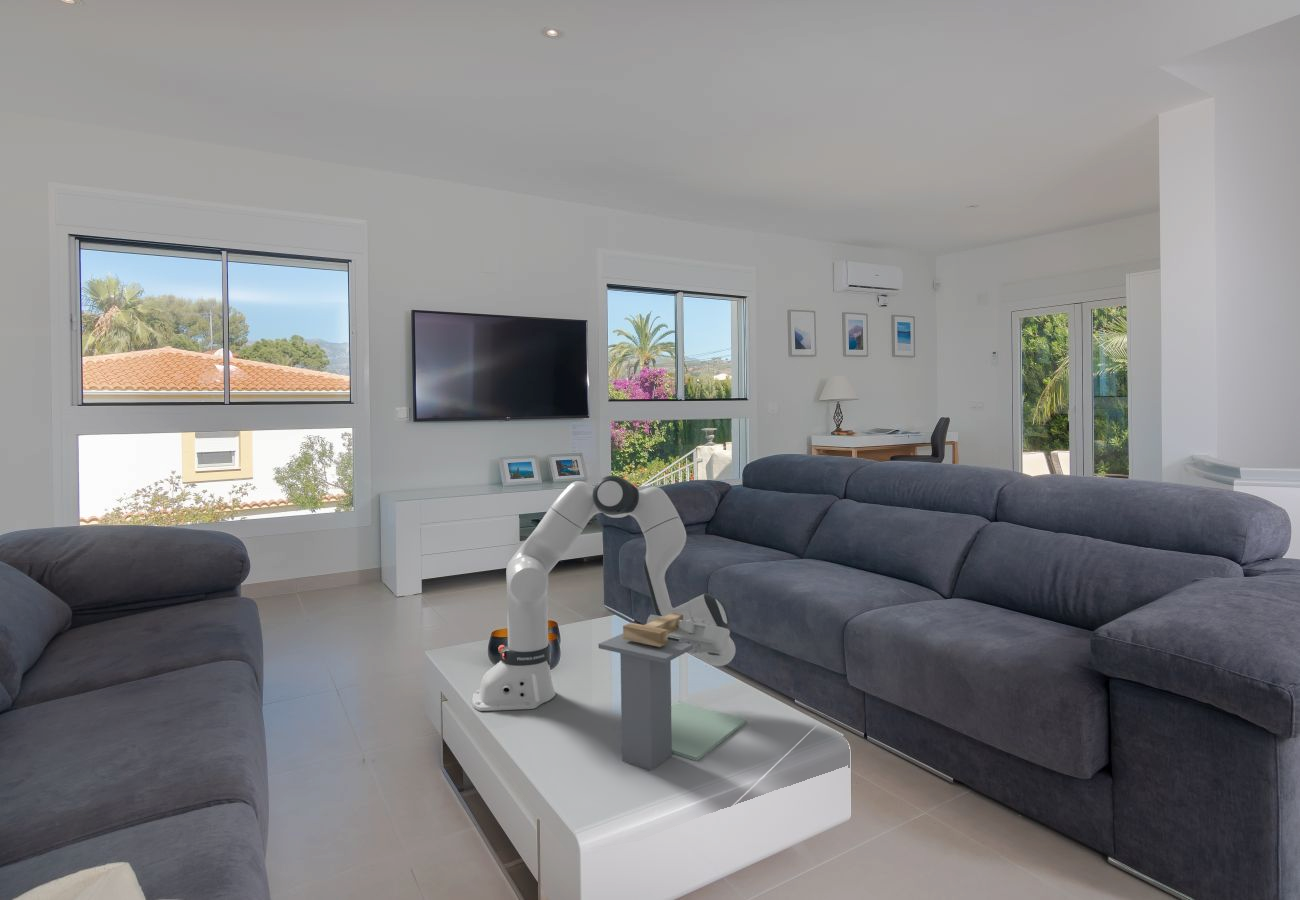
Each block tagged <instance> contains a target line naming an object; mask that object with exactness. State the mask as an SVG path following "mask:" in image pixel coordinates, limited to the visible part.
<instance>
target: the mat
mask: <svg viewBox="0 0 1300 900" xmlns="http://www.w3.org/2000/svg"><path fill="white" fill-rule="evenodd" d="M747 721H748V719H747V718H745V717H741V716H738V715H737V716H736V715H733V714H730V713H729V714H728V713H726V712H721V711H717V710H714V709H710V708H707V707H702V706H698V705H694V704H691V703H687V702H683V701H678V702H676V703H675V704H673V705H671V730H672V755H676V756H680V757H683V758H686V759H689V760H692V761H695V762H698V761H699V760H700V759H702V758H703V757H704V756H705V755H707V754H708V753H710V751H712V750H713V749H714V748H716V747H717V746H718V745H719V744H721V743H722V742H723V741H725V740H726V739H727V738H728V737H730V736H731V735H732V734H733V733H735V732H736V731H737V730H738V729H740V728H741V727H742V726H744V725H745V724H747V723H748V722H747Z"/></svg>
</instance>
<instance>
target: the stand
mask: <svg viewBox="0 0 1300 900" xmlns="http://www.w3.org/2000/svg"><path fill="white" fill-rule="evenodd" d="M598 649H601V650H605V651H608V652H613V653H617V654H620V696H621V697H620V703H621V704H620V706H621V707H620V709H621V711H620V712H621V757H622V758H621V761H622V762H625V763H627V764H628V763H629V764H631V765H634V766H637V767H640V768H642V769H646V770H648V771H653V770H654V769H656V768H657V767H658V766H660V765H662V764H663V763H664V762H665V761H667V760H668V759H669V758H671V757H672V756H673V753H672V730H671V706H672V677H671V675H672V672H671V671H672V668H671V667H672V666H671V665H672V663H671V661H673V660H675V659H676V658H678V657H680V656H682V655H684V654H686V653H688V651H690V650H692V649H693V644H688V643H683V642H678V641H673V640H669V639H668V643H667V644H665V645H663V646H661V647H658V646H653V645H648V644H644V643H639V642H634V641H630V640H625V639H623V633H621V634H619V635H616V636H613V637H612V638H609V639H606V640H604V641H602V642H600V643H598Z"/></svg>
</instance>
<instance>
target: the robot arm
mask: <svg viewBox="0 0 1300 900" xmlns="http://www.w3.org/2000/svg"><path fill="white" fill-rule="evenodd" d="M598 514H600V515H603V516H606V517H608V518H613V519H619V520H620V519H625V518H628V517H633V518H634V519H635V520H636V522H637V523H638V526H639V528H640V531H641V532H642V534H643V536H644V540H645V544H646V547H645V548H646V550H645V551H646V552H645V554H644V556H643V559H642V565H643V571H644V575H645V579H646V583H647V587H648V590H649V594H650V598H651V602H652V606H653V609H654V613H655V614H649V616H648V618H647V620H646V624H647V623H650V622H652V621H654V620H657V619H659V618H661V617H664V616H666V615H669V614H671V613H677V614H682V615H683V620H679V619H677V620H676V624H675V626H676V627H677V628H680V629H678V630H676V631H674V632H672V633H670V634H668V639H669V640H673V641H678V642H683V643H688V644H693V649H692V650H690V651H688V652H687V653H688V654H689V655H692V656H693V657H695V658H697V659H700V660H701V661H702V662H704V663H707V664H709V665H711V666H715V667H723V666H726V665H728V664H729V663H730V662H731V661H732V660H733V659H734V657H735V655H736V645H735V642H734V641H733V639H732V638H731V637H730V635H731V634H730V633H731V631H730V629H729V624H730V623H729V617H728V612H727V610H726V608H725V606H724V604H723V603H722V602H721V600H720V599H718V598H717V597H715V596H714V595H713V594H709V593H706V592H705V593H703V594H701V595H698V596H697V597H694V598H692V599H690V600H689V601H687V602H685V603H682V604H680V605H678V606H676V607H673V606H672V604H671V602H672V601H671V599H670V596H669V591H668V587H667V583H666V580H665V577H666V572H667V570H668V568H669V567H670V565H672V563H673V562H674V560H676V558H678V556H679V555H680V554H681V553H682V551H683V549H684V547H685V545H686V542H687V532H686V528H685V526H684V523H683V521H682V519H681V517H680V515H679V513H678V510H677V509H676V507H675V504H673V502H672V500H671V499H670V497H669V496H668V494H666V492H665V491H664V489H662V488H660V487H657V486H651V487H647V488H644V489H642V490H641V489H640V490H639V489H638V487H636V486H635V485H634V484H632V483H631V482H630V481H628V480H627V479H625V478H623V477H621V476H619V475H606V476H604V477H602V478H600V479H599V480H598V481H597V483H596V484H595V485H594V486H592V485H591V484H589V483H587V482H585V481H582V480H581V481H580V480H576V481H573V482H571V483H570V484H569V485H568V486H567V487H566V488H564V490H563V491H562V492H561V493H560V494H559V495H558V496H557V498H556V499H555V500H554V501H553V503H552V504H551V506H550V507H549V509H548V510H547V512H546V513H545V514H544V516H543V517H542V519H541V520H540V521H539V523H538V525H537V526H536V527H535V529H534V530H533V531H532V532H531V534H530V535H529V536H528V537H527V538H526V539H525V541H524V542H523V543H522V545H521V546H520V547H519V548H518V549H517V551H516V552H515V553H514V555H513V556H512V558H511V559H510V560H509V561H508V562H507V563H508V564H507V565H506V571H505V574H506V577H505V578H506V606H507V607H506V609H507V610H506V611H507V612H506V615H507V617H506V618H507V620H506V621H507V646H505V644H501V645H499V646H498V653H499V654H500V660H499V662H497V663H496V664H494V666H493V667H491V668H490V669H488V670H487V671H486V672H485V673H484V674H483V677H482V679H481V682H480V686H479V687H480V688H478V689H477V690H475V691H474V692H473V695H472V699H471V700H472V701H471V704H472V706H473V708H474V709H475V710H477V711H480V712H485V711H486V712H488V711H489V712H490V711H492V712H493V711H511V710H512V711H513V710H516V711H517V710H533V709H534V710H535V709H537V708H538V707H540V705H542V704H544V703H547V702H548V701H551V700H552V699H553V698H554V697H556V690H555V688H554V685H553V680H552V675H551V667H550V665H551V658H552V657H551V656H552V655H551V646H550V642H549V621H548V620H549V619H548V618H549V574H550V572H551V571H552V570H553V569H554V568H555V566H556V565H557V564H558V562H559V561H561V560H562V558H563V557H564V556H565V555H567V554H568V552H569V551H570V549H571V548H572V547H573V545H574V544H575V543H576V541H577V539H578V538H579V536H580V535H581V533H582V532H583V530H584V529H585V528H586V526H587V524H588V523H589V522H590V520H591V519H592V518H593V517H594V516H595V515H598Z"/></svg>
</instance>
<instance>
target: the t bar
mask: <svg viewBox="0 0 1300 900" xmlns="http://www.w3.org/2000/svg"><path fill="white" fill-rule="evenodd" d="M677 619H679V620H683V615H682V614H677V613H671V614H669V615H666V616H664V617H661V618H659V619H657V620H654V621H652V622H650V623H647V622H646V623H645V624H639V623H633V622H629V623H627V624H624V625H623V626H622V629H623V630H622V634H623V639H625V640H630V641H634V642H639V643H644V644H648V645H653V646H658V647H661V646H663V645H665V644H667V643H668V634H670V633H672V632H674V631H676V630H678V629H680V628H677V627H676V626H675V624H676V620H677Z"/></svg>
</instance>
